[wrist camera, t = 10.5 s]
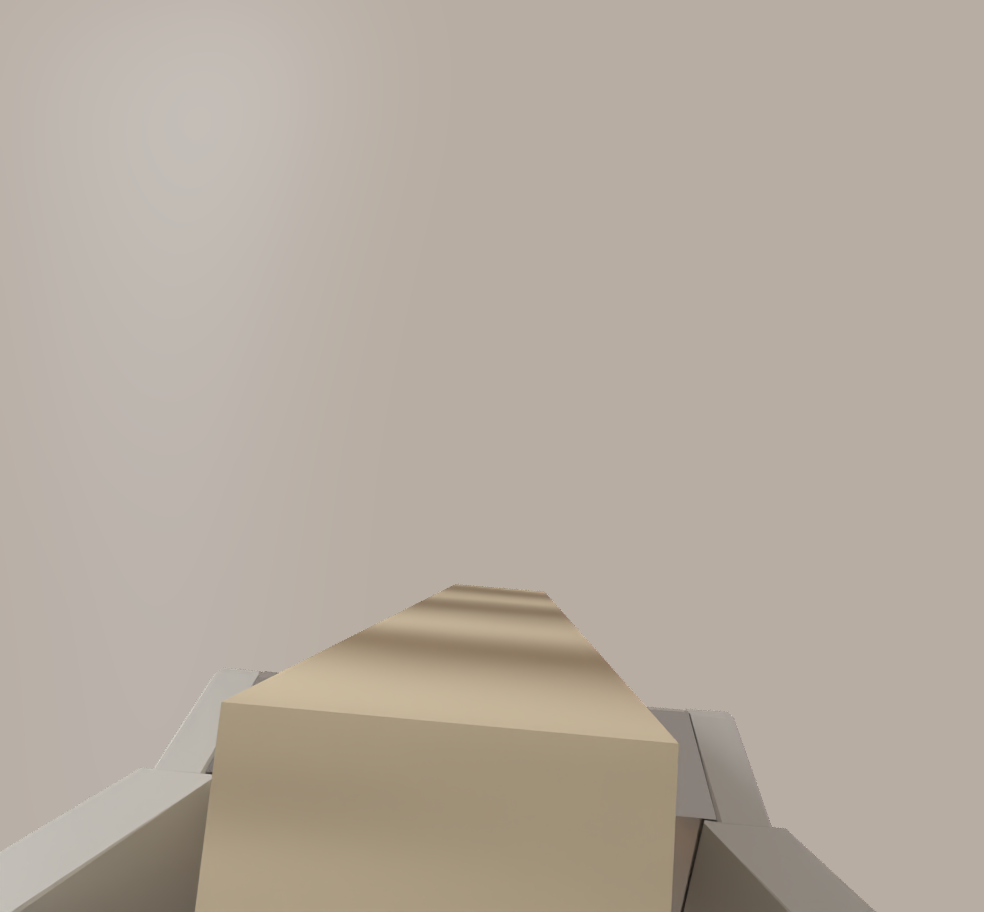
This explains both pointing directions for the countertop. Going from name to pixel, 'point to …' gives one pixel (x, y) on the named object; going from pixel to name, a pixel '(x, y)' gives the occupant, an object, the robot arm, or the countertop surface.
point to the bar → (443, 773)
